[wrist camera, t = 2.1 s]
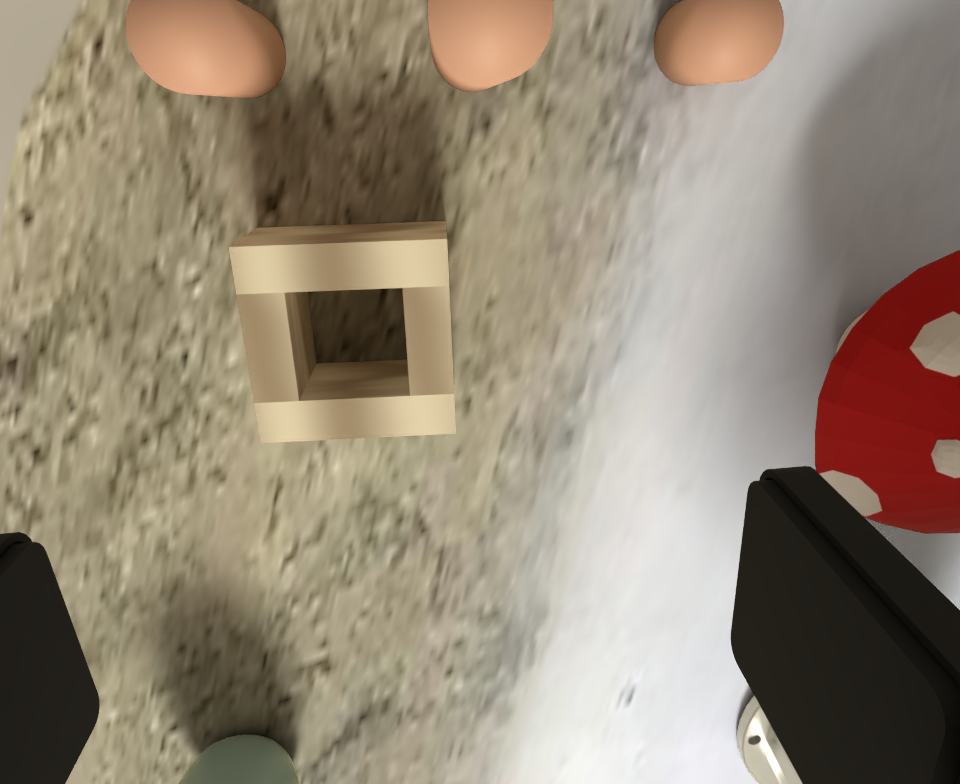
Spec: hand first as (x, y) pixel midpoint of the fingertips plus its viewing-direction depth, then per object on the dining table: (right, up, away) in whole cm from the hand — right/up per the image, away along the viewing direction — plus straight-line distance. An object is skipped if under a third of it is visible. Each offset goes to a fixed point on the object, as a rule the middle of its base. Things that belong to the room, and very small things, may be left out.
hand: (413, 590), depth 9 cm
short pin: (+11, +18, +22) cm, 31 cm away
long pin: (+1, +18, +22) cm, 28 cm away
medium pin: (-9, +18, +21) cm, 29 cm away
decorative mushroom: (+22, +5, +28) cm, 36 cm away
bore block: (-5, +7, +26) cm, 27 cm away
